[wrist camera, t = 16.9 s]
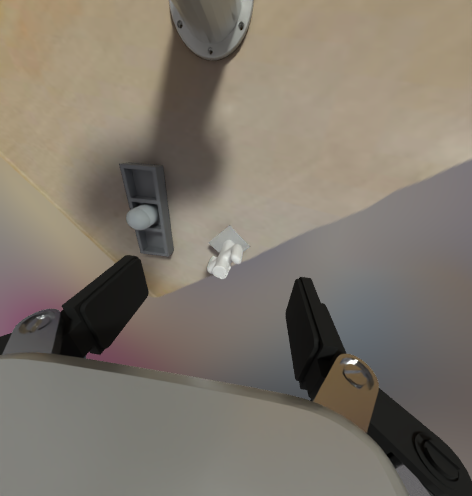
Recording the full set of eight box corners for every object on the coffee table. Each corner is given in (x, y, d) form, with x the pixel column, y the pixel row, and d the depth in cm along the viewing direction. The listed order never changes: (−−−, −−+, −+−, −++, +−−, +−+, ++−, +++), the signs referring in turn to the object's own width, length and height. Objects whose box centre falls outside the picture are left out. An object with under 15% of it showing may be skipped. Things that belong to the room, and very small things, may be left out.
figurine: (209, 238, 46) (189, 273, 33) (235, 216, 42) (224, 246, 29) (227, 256, 48) (215, 296, 35) (254, 237, 44) (251, 273, 31)
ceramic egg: (139, 201, 42) (117, 210, 36) (159, 203, 42) (140, 212, 35) (144, 221, 45) (124, 232, 38) (162, 222, 44) (145, 234, 38)
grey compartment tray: (129, 162, 39) (119, 163, 36) (162, 165, 38) (155, 166, 36) (147, 247, 50) (140, 253, 47) (173, 250, 49) (168, 256, 46)
